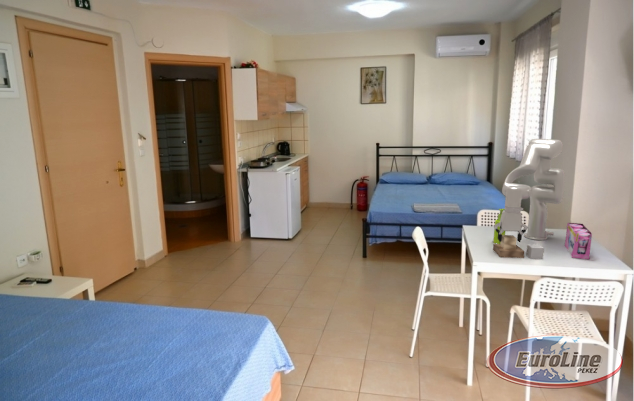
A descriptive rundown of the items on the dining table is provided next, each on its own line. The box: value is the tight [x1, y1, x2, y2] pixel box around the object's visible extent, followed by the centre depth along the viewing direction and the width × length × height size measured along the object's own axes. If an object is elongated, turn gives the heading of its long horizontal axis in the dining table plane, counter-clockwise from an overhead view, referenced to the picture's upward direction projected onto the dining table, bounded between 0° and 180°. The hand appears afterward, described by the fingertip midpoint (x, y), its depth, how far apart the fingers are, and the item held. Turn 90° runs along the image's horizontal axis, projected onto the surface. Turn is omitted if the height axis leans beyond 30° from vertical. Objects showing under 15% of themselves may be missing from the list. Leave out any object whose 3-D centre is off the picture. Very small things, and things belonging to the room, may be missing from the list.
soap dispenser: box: [492, 208, 506, 244], centre depth 251 cm, size 6×7×20 cm
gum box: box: [564, 222, 593, 260], centre depth 235 cm, size 24×8×14 cm, turn 160°
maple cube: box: [500, 234, 518, 250], centre depth 232 cm, size 6×6×6 cm
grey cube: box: [525, 243, 545, 260], centre depth 228 cm, size 6×6×6 cm
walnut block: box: [492, 243, 526, 259], centre depth 233 cm, size 12×12×4 cm
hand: (509, 241), depth 232 cm, fingers open, 9 cm apart
